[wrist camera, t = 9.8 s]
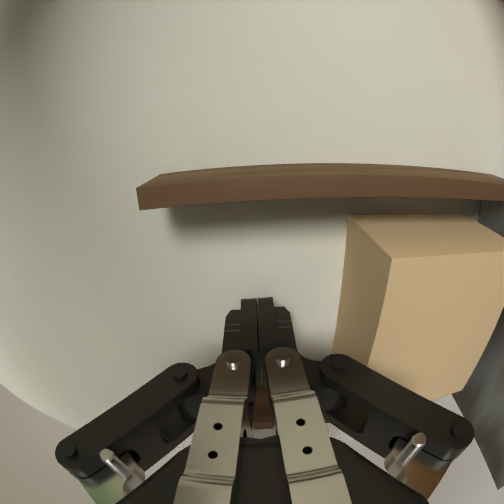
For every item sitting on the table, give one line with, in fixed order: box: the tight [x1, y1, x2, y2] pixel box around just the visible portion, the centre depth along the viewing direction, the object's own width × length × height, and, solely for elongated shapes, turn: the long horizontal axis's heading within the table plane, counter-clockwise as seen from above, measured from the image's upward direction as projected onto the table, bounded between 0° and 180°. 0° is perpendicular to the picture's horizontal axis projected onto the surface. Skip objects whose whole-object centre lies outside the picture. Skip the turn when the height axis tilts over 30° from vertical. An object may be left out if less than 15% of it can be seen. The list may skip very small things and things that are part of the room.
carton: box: [332, 214, 504, 401], centre depth 13 cm, size 9×8×5 cm
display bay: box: [136, 163, 504, 489], centre depth 9 cm, size 14×18×12 cm
